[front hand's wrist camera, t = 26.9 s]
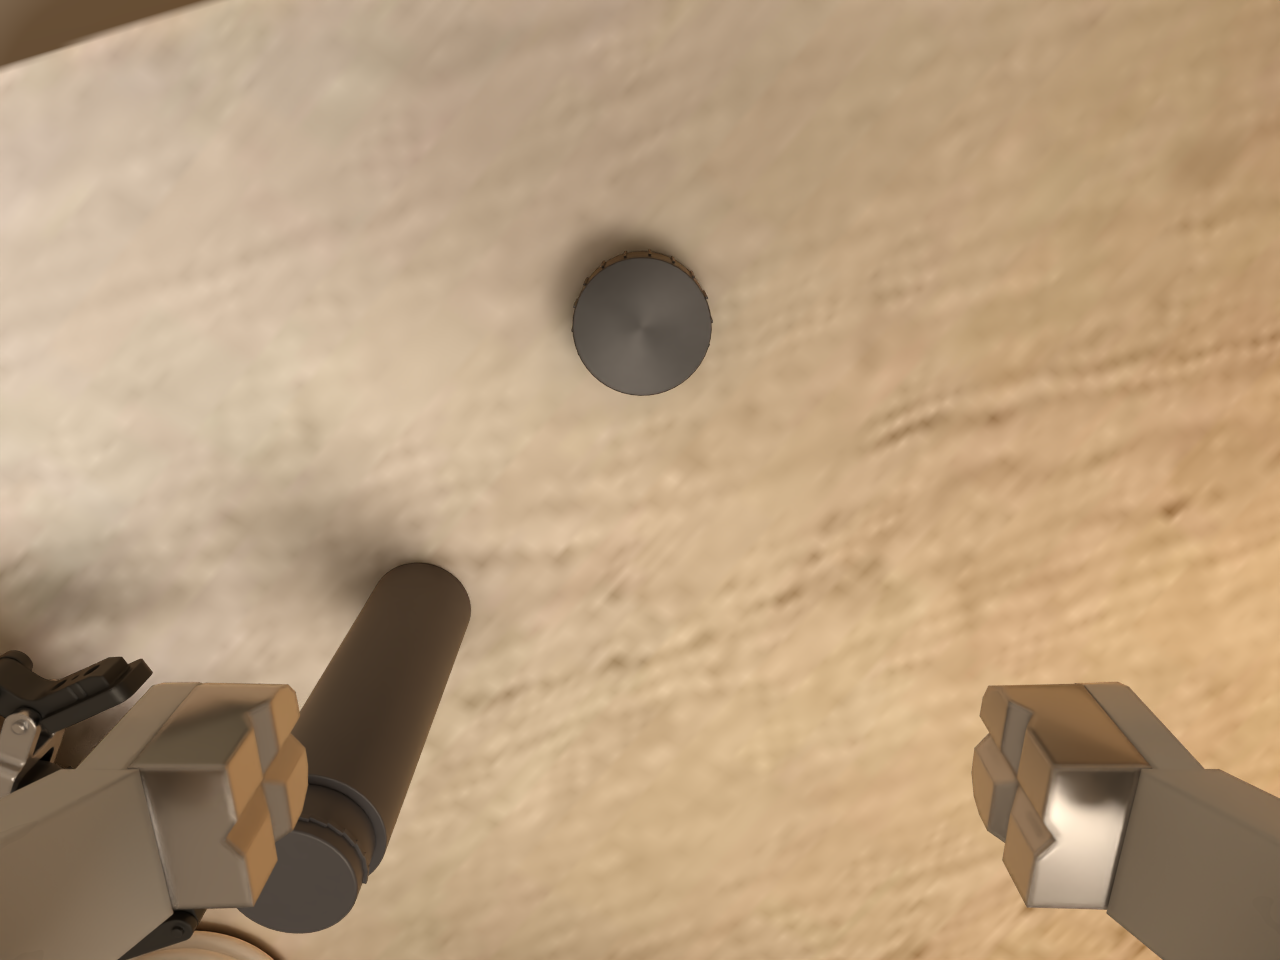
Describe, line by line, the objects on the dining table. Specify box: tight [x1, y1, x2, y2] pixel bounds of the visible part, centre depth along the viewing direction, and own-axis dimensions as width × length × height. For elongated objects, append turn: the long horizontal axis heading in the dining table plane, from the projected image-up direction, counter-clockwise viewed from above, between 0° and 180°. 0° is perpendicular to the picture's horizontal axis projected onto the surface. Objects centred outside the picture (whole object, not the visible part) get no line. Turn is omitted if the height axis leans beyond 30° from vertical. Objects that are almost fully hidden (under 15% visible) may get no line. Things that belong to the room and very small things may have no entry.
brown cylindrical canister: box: [237, 563, 471, 933], centre depth 33 cm, size 4×4×16 cm
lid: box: [572, 249, 713, 396], centre depth 35 cm, size 6×6×2 cm
